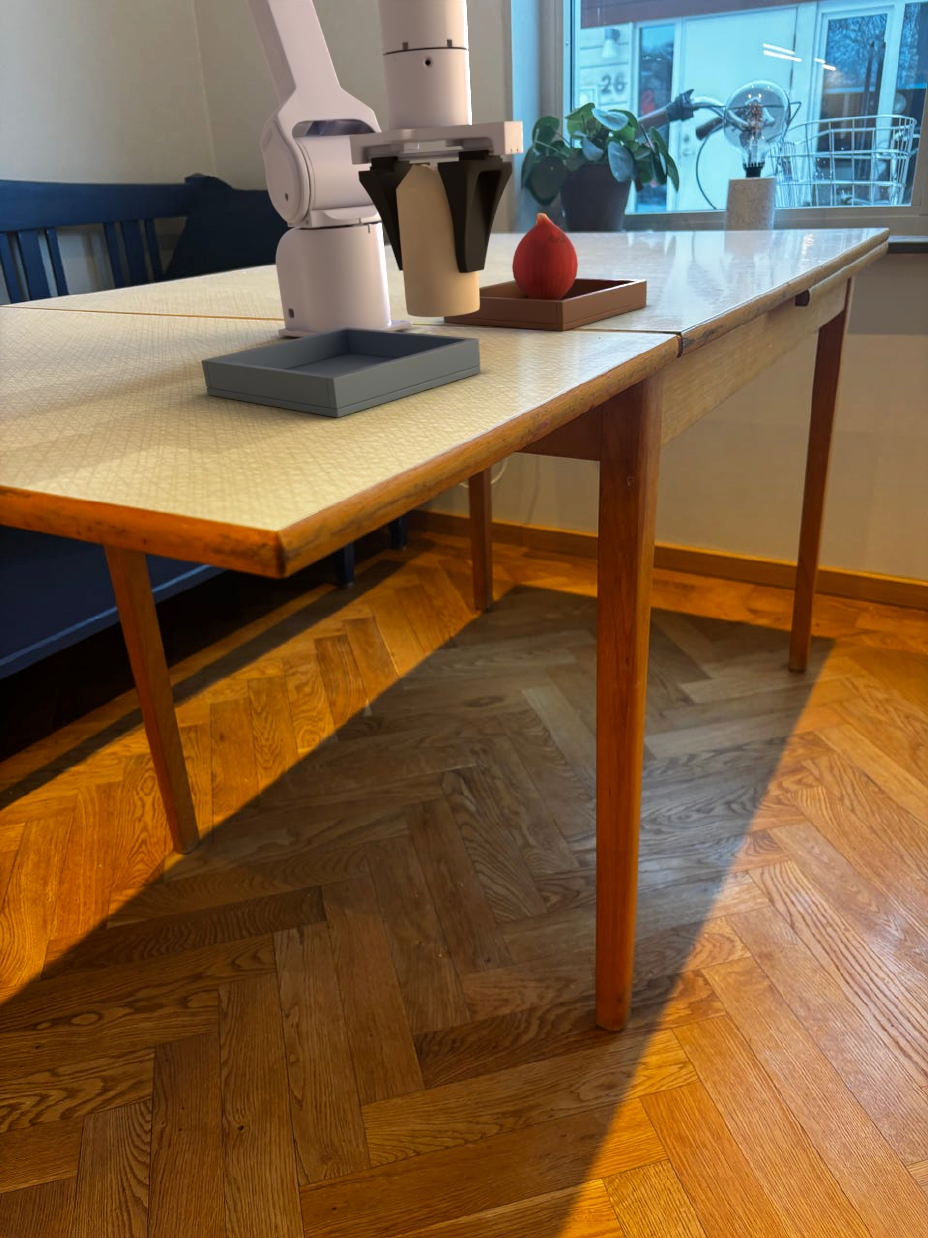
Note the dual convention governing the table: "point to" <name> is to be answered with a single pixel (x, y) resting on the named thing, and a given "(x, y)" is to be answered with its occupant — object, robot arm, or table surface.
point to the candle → (431, 249)
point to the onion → (545, 261)
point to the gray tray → (341, 369)
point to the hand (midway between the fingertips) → (440, 270)
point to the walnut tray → (555, 305)
